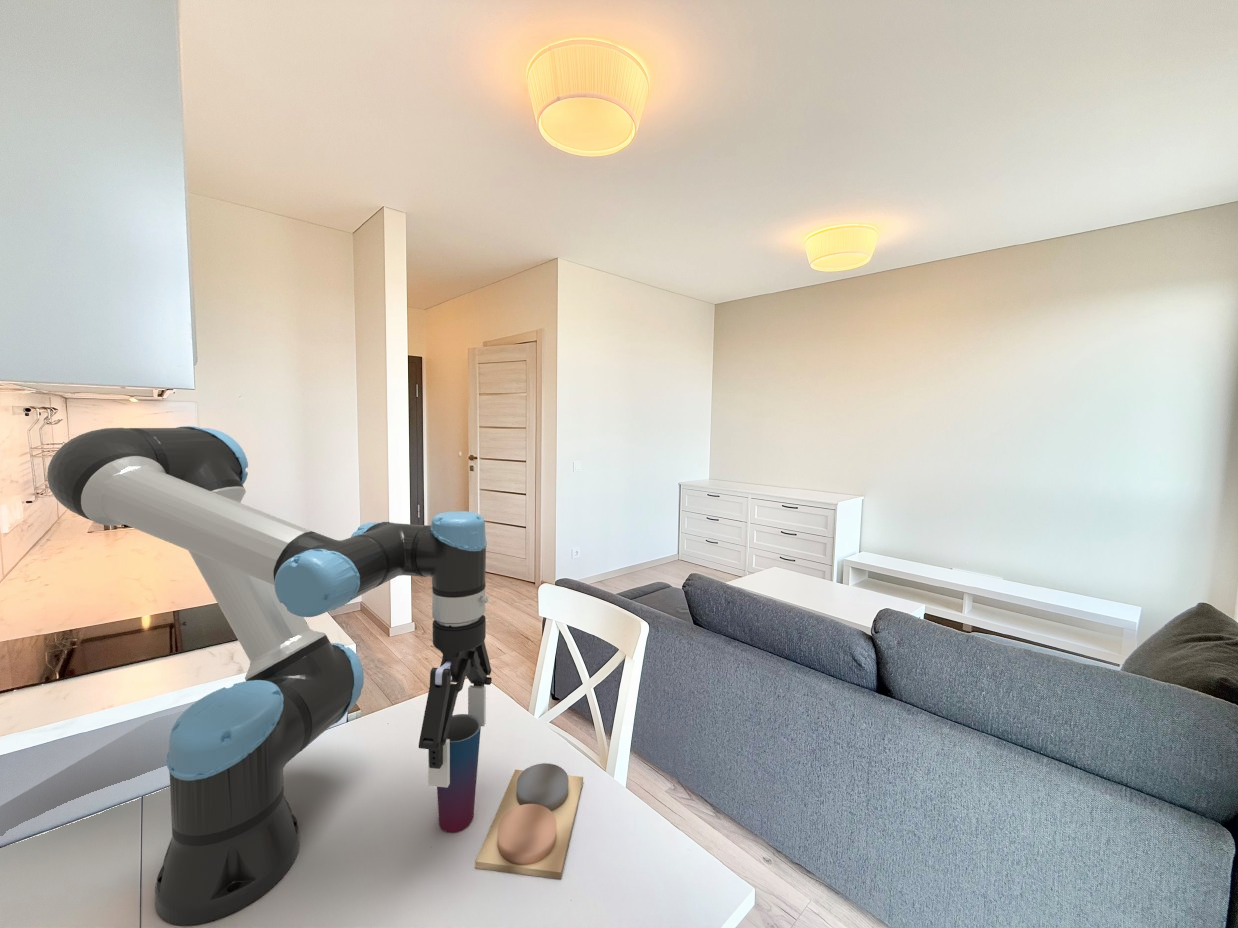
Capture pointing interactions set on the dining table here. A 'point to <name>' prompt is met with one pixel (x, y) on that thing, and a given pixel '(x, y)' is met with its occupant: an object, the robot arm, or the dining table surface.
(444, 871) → the dining table surface
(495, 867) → the stand board
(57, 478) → the robot arm
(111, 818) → the dining table surface
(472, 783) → the cup
